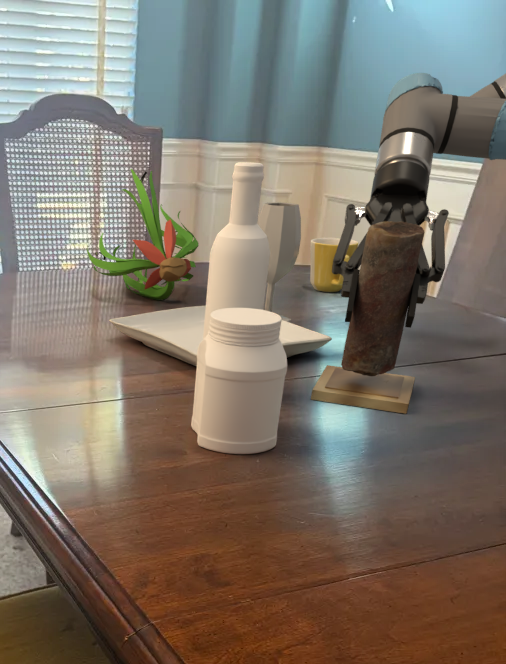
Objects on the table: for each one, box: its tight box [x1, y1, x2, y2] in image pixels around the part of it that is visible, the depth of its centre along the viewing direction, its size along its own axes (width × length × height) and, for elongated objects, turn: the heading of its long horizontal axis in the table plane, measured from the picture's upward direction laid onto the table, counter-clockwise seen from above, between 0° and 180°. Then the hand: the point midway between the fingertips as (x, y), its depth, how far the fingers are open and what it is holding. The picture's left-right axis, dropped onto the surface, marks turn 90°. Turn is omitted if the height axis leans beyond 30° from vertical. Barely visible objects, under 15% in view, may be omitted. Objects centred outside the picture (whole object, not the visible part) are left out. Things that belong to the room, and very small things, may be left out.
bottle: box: [203, 161, 270, 339], centre depth 103 cm, size 8×8×30 cm
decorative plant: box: [86, 168, 199, 301], centre depth 160 cm, size 26×25×30 cm
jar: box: [190, 308, 288, 455], centre depth 93 cm, size 12×10×15 cm
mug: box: [309, 237, 359, 293], centre depth 170 cm, size 14×10×10 cm
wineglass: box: [257, 201, 302, 323], centre depth 142 cm, size 9×9×21 cm
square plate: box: [108, 304, 333, 367], centre depth 131 cm, size 27×27×4 cm
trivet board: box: [310, 364, 416, 415], centre depth 112 cm, size 13×13×2 cm
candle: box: [340, 221, 425, 376], centre depth 106 cm, size 8×7×20 cm
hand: (378, 319), depth 104 cm, fingers closed on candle, 7 cm apart
